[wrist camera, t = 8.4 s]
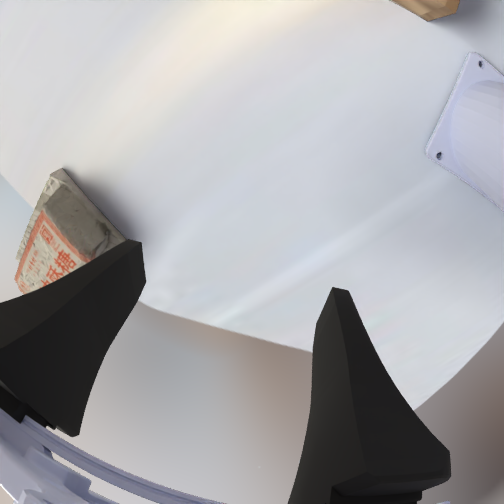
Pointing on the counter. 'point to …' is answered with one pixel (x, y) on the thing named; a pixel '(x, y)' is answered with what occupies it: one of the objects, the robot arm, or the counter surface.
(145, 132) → the counter surface
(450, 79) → the counter surface
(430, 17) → the carton
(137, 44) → the counter surface
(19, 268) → the packaged product
